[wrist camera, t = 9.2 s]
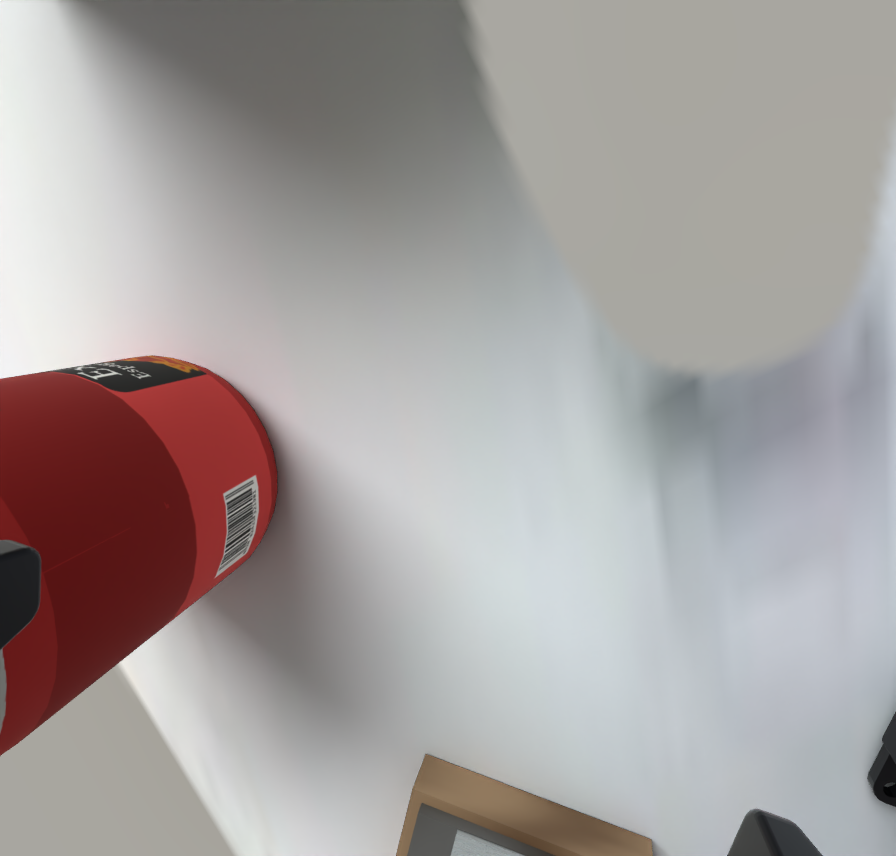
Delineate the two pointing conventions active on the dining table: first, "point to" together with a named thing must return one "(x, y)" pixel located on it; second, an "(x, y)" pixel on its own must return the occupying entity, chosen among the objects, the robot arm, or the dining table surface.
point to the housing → (478, 847)
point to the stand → (502, 819)
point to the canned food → (120, 513)
